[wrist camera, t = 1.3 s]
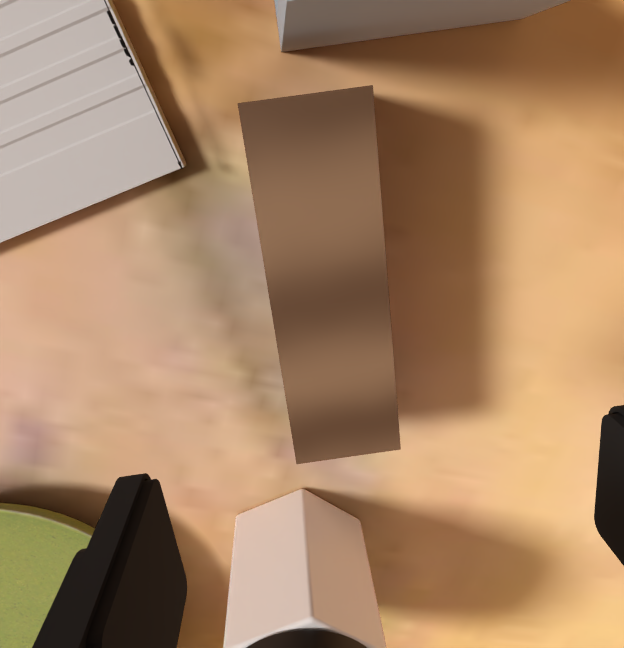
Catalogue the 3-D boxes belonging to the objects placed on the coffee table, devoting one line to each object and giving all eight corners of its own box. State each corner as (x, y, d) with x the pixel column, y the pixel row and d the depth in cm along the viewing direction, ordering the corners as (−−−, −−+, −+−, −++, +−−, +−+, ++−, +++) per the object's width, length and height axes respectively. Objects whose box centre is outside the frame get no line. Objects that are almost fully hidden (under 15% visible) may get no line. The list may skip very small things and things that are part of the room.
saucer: (80, 422, 31) (60, 455, 28) (236, 650, 38) (232, 696, 35) (-225, 546, 33) (-275, 590, 30) (-19, 741, 40) (-42, 792, 37)
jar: (349, 597, 37) (382, 808, 26) (228, 594, 36) (207, 810, 25) (368, 489, 34) (414, 676, 22) (236, 483, 33) (216, 674, 22)
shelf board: (245, 105, 25) (237, 103, 20) (351, 91, 25) (372, 85, 20) (292, 401, 31) (296, 464, 26) (378, 389, 31) (400, 449, 26)
